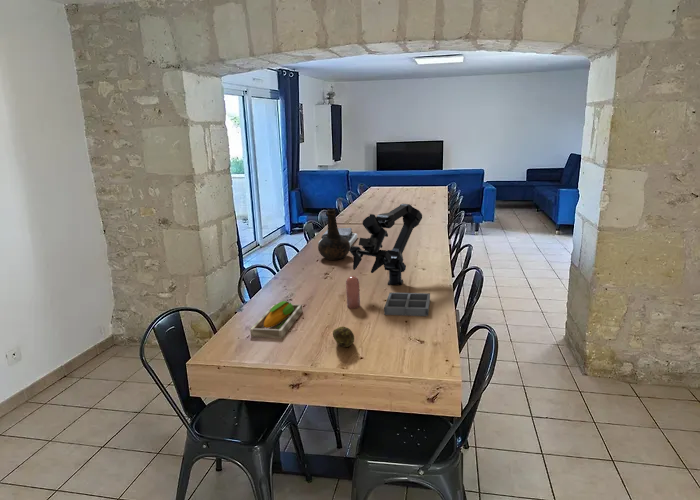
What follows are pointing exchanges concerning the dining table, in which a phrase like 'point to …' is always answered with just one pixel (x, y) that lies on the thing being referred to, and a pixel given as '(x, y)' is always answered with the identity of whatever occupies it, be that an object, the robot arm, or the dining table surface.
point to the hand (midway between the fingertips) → (362, 271)
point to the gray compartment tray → (407, 304)
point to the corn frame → (275, 333)
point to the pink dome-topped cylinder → (353, 292)
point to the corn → (278, 314)
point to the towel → (342, 233)
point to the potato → (343, 336)
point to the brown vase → (333, 240)
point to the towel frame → (350, 240)
